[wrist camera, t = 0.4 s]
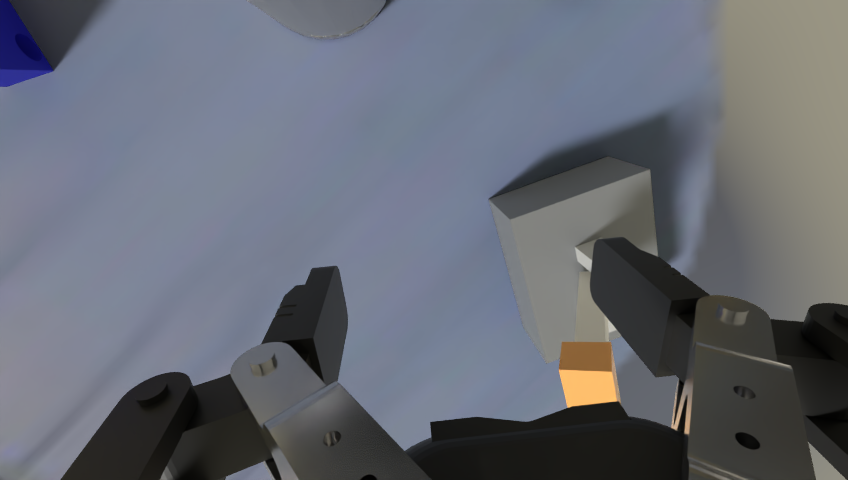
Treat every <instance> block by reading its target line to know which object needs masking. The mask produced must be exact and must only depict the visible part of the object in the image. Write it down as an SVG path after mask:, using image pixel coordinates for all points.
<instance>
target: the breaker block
mask: <svg viewBox="0 0 848 480" xmlns="http://www.w3.org/2000/svg"><path fill="white" fill-rule="evenodd" d="M489 202H490V206H491V210H492V213H493V217H494V221H495V224H496V228H497V232H498V235H499V239H500V243H501V247H502V250H503V254H504V258H505V261H506V265H507V269H508V272H509V276H510V280H511V283H512V287H513V291H514V294H515V298H516V302H517V305H518V309H519V313H520V316H521V320H522V324H523V327H524V329H525V331H526V332H527V334H528V335H529V337H530V339H531V340H532V342H533V343H534V345H535V346H536V348H537V350H538V351H539V353H540V354H541V356H542V357H543V359H544V360H545V362H546V364H547V363H549V362H552V361H555V360H558V359H560V354H561V345H562V342H575V328H576V314H577V300H578V286H579V272H586V271H590V272H591V267H592V257H593V248H594V244H595V242H596V240H598V239H605V238H615V237H624V238H626V239H627V240H628V241H630V242H631V243H632V244H634V245H635V246H636V247H637V248H639V249H640V250H643V251H645V252H648V253H650V254H653V255H655V256H658V251H657V240H656V229H655V218H654V207H653V196H652V185H651V174H650V169H647V168H644V167H641V166H638V165H635V164H631V163H628V162H625V161H622V160H619V159H615V158H612V157H609V156H607V157H605V158H602V159H599V160H596V161H593V162H591V163H588V164H585V165H582V166H580V167H577V168H574V169H571V170H568V171H566V172H563V173H560V174H557V175H555V176H552V177H549V178H546V179H543V180H541V181H538V182H535V183H532V184H530V185H527V186H524V187H521V188H518V189H516V190H513V191H510V192H507V193H505V194H502V195H499V196H496V197H493V198H491V199H489ZM608 326H609V341H610V340H613V339H616V338H619V337H621V334H620V333H619V332H618V331H617V329H616V328H615V327H614V326H613V325H612V323H611V322H610V321H609V320H608Z"/></svg>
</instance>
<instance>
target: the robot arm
mask: <svg viewBox="0 0 848 480" xmlns="http://www.w3.org/2000/svg"><path fill="white" fill-rule="evenodd" d="M247 1H248V2H250V3H251V4H253V5H254V6H255V7H257V8H258V9H260V10H261V11H263V12H264V13H266V14H267V15H269V16H270V17H272V18H273V19H275V20H276V21H278V22H279V23H281V24H282V25H284V26H285V27H287V28H288V29H290V30H292V31H295V32H297V33H299V34H301V35H303V36H307V37H311V38H316V39H338V38H342V37H346V36H350V35H352V34H354V33H356V32H358V31H360V30H362V29H363V28H364V27H365V26H367V25H368V24H369V23H370V22H371V21H373V20H374V19H375V17H376V16H377V15H378V13H379V12H380V11H381V9H382V8H383V7H384V5H385V2H386V0H247ZM590 292H591V296H592V299H593V301H594V302H595V304H596V305H597V306H598V307H599V309H600V310H601V311H602V312H603V314H604V315H605V316H606V317H607V318H608V320H609V321H610V322H611V323H612V325H613V326H614V327H615V328H616V329H617V331H618V332H619V333H620V334H621V336H622V337H623V338H624V339H625V340H626V342H627V343H628V344H629V345H630V347H631V348H632V349H633V350H634V351H635V353H636V354H637V355H638V356H639V358H640V359H641V360H642V361H643V362H644V364H645V365H646V366H647V367H648V369H649V370H650V371H651V372H652V373H653V375H654V376H655V377H663V376H671V375H676V376H677V377H678V378H679V380H678V384H677V388H676V395H675V402H674V410H673V418H672V427H671V428H670V427H668V426H665V425H662V424H660V423H657V422H653V421H650V420H646V419H641V418H635V417H629V416H628V415H627V413H626V412H625V410H624V409H623V407H622V406H621V404H620V403H619V401H615V402H606V403H597V404H588V405H579V406H572V407H569V408H566V409H564V410H561V411H558V412H555V413H553V414H550V415H547V416H544V417H542V418H539V419H536V420H534V421H529V422H521V421H512V420H502V419H492V418H483V417H471V418H462V419H454V420H445V421H436V422H430V425H431V436H432V438H429V439H426V440H424V441H422V442H420V443H418V444H416V445H414V446H412V447H410V448H409V449H407V450H406V451H404V450H403V449H402V448H401V447H400V446H399V445H398V444H397V443H396V442H395V441H394V440H393V439H392V438H391V437H390V436H389V435H388V434H387V432H386V431H385V430H384V429H383V428H382V427H381V426H380V425H379V424H378V423H377V422H376V421H375V420H374V419H373V418H372V417H371V416H370V415H369V414H368V413H367V412H366V410H365V409H364V408H363V407H362V406H361V405H360V404H359V403H358V402H357V401H356V400H355V399H354V398H353V397H352V396H351V395H350V394H349V393H348V392H347V391H346V390H345V388H344V387H343V386H342V385H341V384H339V383H338V382H337V381H338V376H339V370H340V365H341V360H342V354H343V349H344V344H345V339H346V333H347V328H348V315H347V307H346V302H345V297H344V292H343V287H342V282H341V277H340V272H339V269H338V267H337V266H329V267H319V268H312V270H311V272H310V274H309V277H308V279H307V281H306V284H305V285H297V286H295V287H294V288H293V289H292V290H291V291H289V292H288V293H287V294H286V295H285V296H284V298H283V300H282V302H281V304H280V308H278V310H277V313H276V315H275V317H274V319H273V321H272V323H271V325H270V327H269V329H268V331H267V333H266V335H265V337H264V339H263V341H262V343H261V345H258V346H256V347H254V348H251V349H250V350H248V351H246V352H245V353H243V354H242V355H241V356H240V357H239V358H238V359H237V360H236V361H235V362H234V363H233V365H232V367H231V371H230V374H229V375H226V376H223V377H221V378H218V379H215V380H211V381H208V382H205V383H202V384H199V385H196V386H193V385H192V383H191V380H190V378H189V377H188V376H187V375H186V374H184V373H180V372H170V373H164V374H161V375H157V376H155V377H152V378H150V379H148V380H146V381H144V382H142V383H140V384H138V385H137V386H135V387H134V388H132V389H131V390H130V391H129V392H127V393H126V394H125V395H124V396H123V397H122V399H121V400H120V401H119V402H118V404H117V405H116V406H115V408H114V409H113V410H112V412H111V413H110V414H109V416H108V417H107V418H106V420H105V421H104V422H103V424H102V425H101V426H100V428H99V429H98V430H97V432H96V433H95V434H94V436H93V437H92V438H91V440H90V441H89V442H88V444H87V445H86V446H85V448H84V449H83V450H82V452H81V453H80V454H79V456H78V457H77V458H76V460H75V461H74V462H73V464H72V465H71V466H70V468H69V469H68V470H67V472H66V473H65V474H64V476H63V477H62V478H61V480H225V478H226V476H228V475H231V474H233V473H236V472H238V471H241V470H243V469H246V468H248V467H251V466H253V465H256V464H258V463H261V462H263V463H264V465H265V467H266V469H267V471H268V472H269V474H270V476H271V478H272V480H816V477H815V472H814V467H813V463H812V458H811V453H810V448H809V444H808V442H809V443H810V444H811V445H812V446H813V447H814V448H815V449H816V450H817V451H818V452H819V453H820V454H821V455H822V456H823V457H825V459H826V460H828V462H829V463H830V464H831V465H833V467H834V468H835V469H836V470H837V471H838V472H839V473H840V474H842V475H843V476H844V477H845V478H846V479H847V480H848V306H847V305H842V304H834V303H822V304H816V305H813V306H811V307H810V308H809V310H808V312H807V315H806V318H805V320H804V322H798V321H786V320H774V319H770V317H769V315H768V314H767V313H766V312H765V311H764V310H762V309H761V308H760V307H758V306H756V305H754V304H752V303H750V302H748V301H745V300H742V299H739V298H734V297H730V296H723V295H709V294H708V293H706V292H705V291H704V290H702V289H701V288H700V287H698V286H697V285H696V284H694V283H693V282H692V281H690V280H689V279H688V278H686V277H685V276H684V275H681V273H680V272H678V271H677V270H676V269H674V268H671V266H670V265H669V264H668V263H666V262H665V261H664V260H662V259H661V258H660V257H658V256H655V255H653V254H650V253H648V252H645V251H643V250H640V249H639V248H637V247H636V246H635V245H634V244H632V243H631V242H630V241H628V240H627V239H626V238H624V237H615V238H605V239H598V240H596V242H595V244H594V248H593V257H592V267H591V276H590Z"/></svg>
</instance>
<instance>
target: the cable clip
mask: <svg viewBox="0 0 848 480" xmlns="http://www.w3.org/2000/svg"><path fill="white" fill-rule="evenodd" d="M52 71H53V69H52V67H51V66H50V64H49V63H48V61H47V60H46V58H45V56H44V55H43V53H42V52H41V50H40V49H39V47H38V46H37V44H36V42H35V41H34V39H33V38H32V36H31V35H30V33H29V31H28V30H27V28H26V27H25V25H24V24H23V22H22V20H21V19H20V17H19V16H18V14H17V13H16V11H15V9H14V8H13V6H12V5H11V3H10V2H9V0H0V87H7V86H10V85H13V84H16V83H19V82H22V81H25V80H28V79H31V78H34V77H37V76H40V75H43V74H46V73H49V72H52Z"/></svg>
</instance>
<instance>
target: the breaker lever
mask: <svg viewBox="0 0 848 480" xmlns="http://www.w3.org/2000/svg"><path fill="white" fill-rule="evenodd" d="M590 276H591V272H590V271H586V272H579V286H578V300H577V314H576V328H575V342H562V345H561V354H560V363H559V373H560V377H561V381H562V385H563V389H564V393H565V398H566V402H567V406H568V408H569V407H572V406H579V405H588V404H597V403H606V402H615V401H619V403H620V404H621V401H620V394H619V389H618V382H617V376H616V370H615V364H614V358H613V351H612V345H611V342H609V326H608V318H607V317H606V316H605V315H604V314H603V312H602V311H601V310H600V309H599V307H598V306H597V305H596V304H595V302H594V301H593V299H592V296H591V292H590Z"/></svg>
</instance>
